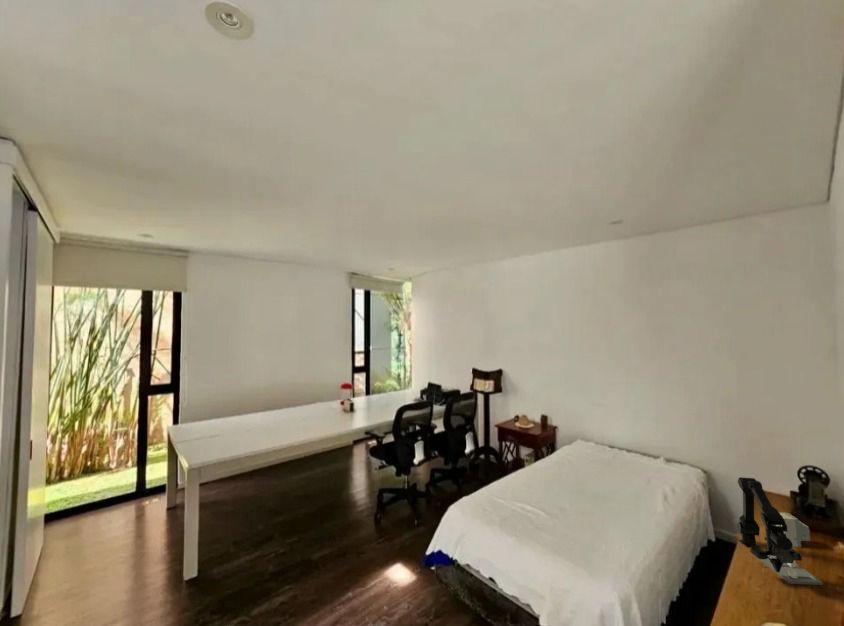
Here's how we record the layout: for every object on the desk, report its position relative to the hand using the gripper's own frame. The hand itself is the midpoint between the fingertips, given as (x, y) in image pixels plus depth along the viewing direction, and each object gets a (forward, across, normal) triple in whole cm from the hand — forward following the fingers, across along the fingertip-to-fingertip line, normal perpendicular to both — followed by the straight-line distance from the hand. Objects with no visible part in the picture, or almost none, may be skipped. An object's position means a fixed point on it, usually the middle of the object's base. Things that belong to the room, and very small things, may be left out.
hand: (777, 571), depth 180 cm
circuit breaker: (+4, +31, +33) cm, 46 cm away
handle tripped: (+2, +6, 0) cm, 7 cm away
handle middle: (+2, +13, +9) cm, 15 cm away
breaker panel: (+4, +10, +9) cm, 13 cm away
